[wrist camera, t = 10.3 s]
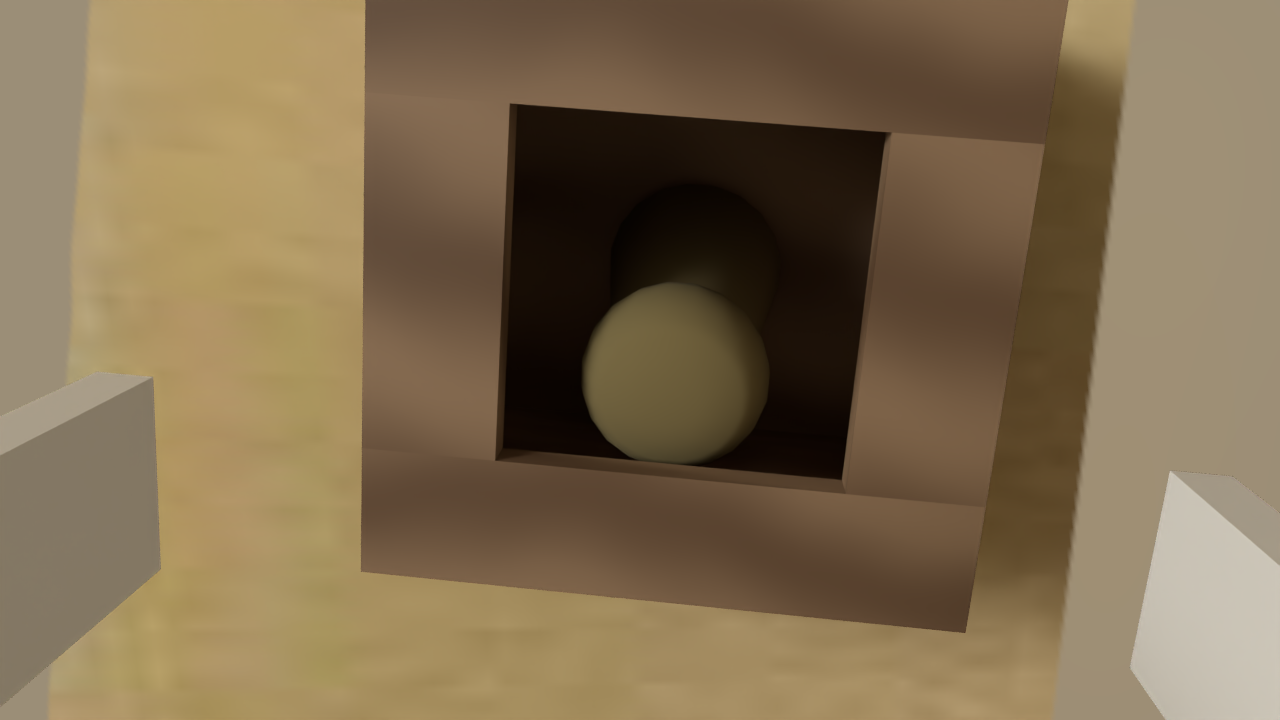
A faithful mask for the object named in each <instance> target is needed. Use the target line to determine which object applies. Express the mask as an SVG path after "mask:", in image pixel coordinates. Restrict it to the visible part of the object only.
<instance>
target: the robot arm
mask: <svg viewBox="0 0 1280 720" xmlns="http://www.w3.org/2000/svg"><path fill="white" fill-rule="evenodd" d="M160 569H161V565H160V539H159V514H158V489H157V463H156V438H155V413H154V387H153V377H148V376H137V375H126V374H115V373H105V372H95V373H93V374H91V375H89V376H87V377H84V378H82V379H80V380H78V381H76V382H74V383H71V384H69V385H67V386H65V387H63V388H60V389H58V390H56V391H54V392H52V393H50V394H47V395H45V396H43V397H41V398H39V399H37V400H34V401H32V402H30V403H28V404H26V405H24V406H21V407H19V408H17V409H15V410H13V411H11V412H8V413H6V414H4V415H2V416H0V707H1V706H2V705H3V704H4V703H6V702H7V701H8V700H9V699H10V698H12V697H13V696H14V695H15V694H16V693H17V692H18V691H20V690H21V689H22V688H23V687H24V686H25V685H27V684H28V683H29V682H30V681H31V680H32V679H34V678H35V677H36V676H37V675H38V674H39V673H41V672H42V671H43V670H44V669H45V668H46V667H48V666H49V665H50V664H51V663H52V662H53V661H55V660H56V659H57V658H58V657H59V656H60V655H61V654H63V653H64V652H65V651H66V650H67V649H68V648H70V647H71V646H72V645H73V644H74V643H75V642H77V641H78V640H79V639H80V638H81V637H82V636H84V635H85V634H86V633H87V632H88V631H89V630H91V629H92V628H93V627H94V626H95V625H96V624H98V623H99V622H100V621H101V620H102V619H103V618H104V617H106V616H107V615H108V614H109V613H110V612H111V611H113V610H114V609H115V608H116V607H117V606H118V605H120V604H121V603H122V602H123V601H124V600H125V599H127V598H128V597H129V596H130V595H131V594H132V593H134V592H135V591H136V590H137V589H138V588H139V587H141V586H142V585H143V584H144V583H145V582H146V581H147V580H149V579H150V578H151V577H152V576H153V575H154V574H156V573H157V572H158V571H159V570H160ZM1130 669H1131V670H1132V672H1133V673H1134V675H1135V676H1136V677H1137V679H1138V680H1139V682H1140V683H1141V685H1142V686H1143V688H1144V689H1145V690H1146V692H1147V693H1148V695H1149V696H1150V698H1151V699H1152V700H1153V702H1154V703H1155V705H1156V706H1157V708H1158V709H1159V711H1160V712H1161V714H1162V715H1163V716H1164V718H1165V719H1166V720H1280V512H1278V511H1277V510H1276V509H1274V508H1273V507H1272V506H1270V505H1269V504H1268V503H1267V502H1265V501H1264V500H1262V499H1261V498H1260V497H1259V496H1258V495H1256V494H1255V493H1254V492H1252V491H1251V490H1250V489H1248V488H1247V487H1246V486H1244V485H1243V484H1242V483H1241V482H1239V481H1238V480H1237V479H1236V478H1234V477H1233V476H1225V475H1214V474H1203V473H1193V472H1182V471H1181V472H1180V471H1171V470H1170V473H1169V478H1168V482H1167V488H1166V492H1165V497H1164V503H1163V507H1162V512H1161V517H1160V522H1159V527H1158V531H1157V536H1156V541H1155V546H1154V551H1153V556H1152V561H1151V566H1150V571H1149V576H1148V581H1147V586H1146V590H1145V595H1144V600H1143V605H1142V610H1141V615H1140V620H1139V625H1138V629H1137V635H1136V639H1135V644H1134V649H1133V654H1132V659H1131V664H1130Z"/></svg>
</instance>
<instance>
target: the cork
mask: <svg viewBox="0 0 1280 720" xmlns="http://www.w3.org/2000/svg"><path fill="white" fill-rule="evenodd" d="M780 264H781V259H780V255H779V251H778V247H777V243H776V238H775V235H774V233H773V232H772V230H771V229H770V227H769V225H768V224H767V222H766V221H765V219H764V218H763V216H762V214H761V213H760V212H759V211H758V210H756V209H755V208H754V207H753V206H751V205H750V204H749V203H748V202H747V201H745V200H744V199H743V198H742V197H741V196H739V195H736V194H734V193H731V192H729V191H726V190H724V189H721V188H719V187H716V186H712V185H697V184H683V185H679V186H675V187H671V188H667V189H663V190H659V191H658V192H656V193H655V194H653V195H651V196H650V197H648V198H647V199H645V200H643V201H642V202H640V203H639V204H637V205H636V206H635V207H634V209H633V210H632V211H631V212H630V214H629V215H628V216H627V217H626V218H625V220H624V221H623V222H622V223H621V224H620V227H619V229H618V232H617V235H616V237H615V240H614V243H613V245H612V248H611V273H610V309H609V310H608V311H607V313H606V314H605V315H604V316H603V317H602V318H601V320H600V321H599V322H598V323H597V324H596V325H595V327H594V330H593V332H592V334H591V337H590V340H589V342H588V345H587V347H586V350H585V353H584V355H583V358H582V381H581V386H582V391H583V395H584V398H585V402H586V405H587V408H588V411H589V414H590V417H591V419H592V421H593V422H594V423H595V425H596V426H597V427H598V429H599V430H600V432H601V433H602V434H603V436H604V437H605V438H606V440H607V441H609V442H610V443H611V444H613V445H614V446H615V447H617V448H618V449H619V450H621V451H622V452H623V453H625V454H626V455H627V456H629V457H631V458H634V459H636V460H639V461H644V462H655V463H666V464H676V465H687V466H699V465H704V464H709V463H711V462H713V461H715V460H717V459H719V458H721V457H722V456H724V455H726V454H728V453H730V452H732V451H733V450H734V449H735V448H736V447H737V446H738V445H739V444H740V443H741V442H742V441H743V440H744V439H745V438H746V437H747V436H748V435H749V434H750V433H751V432H752V430H753V429H754V427H755V426H756V423H757V421H758V419H759V417H760V415H761V413H762V411H763V409H764V407H765V405H766V402H767V397H768V387H769V377H770V369H769V362H768V358H767V354H766V350H765V346H764V342H763V339H762V337H761V336H760V335H761V332H762V329H763V326H764V324H765V321H766V318H767V316H768V313H769V310H770V307H771V305H772V302H773V299H774V297H775V294H776V291H777V289H778V285H779V275H780Z"/></svg>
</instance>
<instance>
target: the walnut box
mask: <svg viewBox="0 0 1280 720" xmlns="http://www.w3.org/2000/svg"><path fill="white" fill-rule="evenodd" d="M1067 6H1068V0H366V10H365V136H364V262H363V388H362V513H361V572H370V573H380V574H389V575H399V576H409V577H419V578H429V579H439V580H449V581H458V582H468V583H478V584H488V585H498V586H508V587H518V588H527V589H537V590H547V591H557V592H567V593H577V594H587V595H597V596H606V597H616V598H626V599H636V600H646V601H656V602H666V603H675V604H685V605H695V606H705V607H715V608H725V609H735V610H745V611H754V612H764V613H774V614H784V615H794V616H804V617H814V618H823V619H833V620H843V621H853V622H863V623H873V624H883V625H893V626H902V627H912V628H922V629H932V630H942V631H952V632H962V633H965V632H966V626H967V620H968V614H969V608H970V602H971V595H972V589H973V583H974V577H975V571H976V565H977V559H978V552H979V546H980V540H981V534H982V528H983V522H984V516H985V509H986V503H987V497H988V491H989V485H990V479H991V473H992V467H993V460H994V454H995V448H996V442H997V436H998V430H999V424H1000V417H1001V411H1002V405H1003V399H1004V393H1005V387H1006V381H1007V374H1008V368H1009V362H1010V356H1011V350H1012V344H1013V338H1014V331H1015V325H1016V319H1017V313H1018V307H1019V301H1020V295H1021V288H1022V282H1023V276H1024V270H1025V264H1026V258H1027V252H1028V246H1029V239H1030V233H1031V227H1032V221H1033V215H1034V209H1035V203H1036V196H1037V190H1038V184H1039V178H1040V172H1041V166H1042V160H1043V153H1044V147H1045V141H1046V135H1047V129H1048V123H1049V117H1050V110H1051V104H1052V98H1053V92H1054V86H1055V80H1056V74H1057V68H1058V61H1059V55H1060V49H1061V43H1062V37H1063V31H1064V25H1065V18H1066V12H1067ZM683 184H697V185H712V186H716V187H719V188H721V189H724V190H726V191H729V192H731V193H734V194H736V195H739V196H741V197H742V198H743V199H744V200H745V201H747V202H748V203H749V204H750V205H751V206H753V207H754V208H755V209H756V210H758V211H759V212H760V213H761V214H762V216H763V218H764V219H765V221H766V222H767V224H768V225H769V227H770V229H771V230H772V232H773V233H774V235H775V238H776V243H777V247H778V251H779V255H780V259H781V264H780V275H779V285H778V289H777V291H776V294H775V297H774V299H773V302H772V305H771V307H770V310H769V313H768V316H767V318H766V321H765V324H764V326H763V329H762V332H761V335H760V336H761V337H762V339H763V342H764V346H765V350H766V354H767V358H768V362H769V369H770V377H769V387H768V397H767V402H766V405H765V407H764V409H763V411H762V413H761V415H760V417H759V419H758V421H757V423H756V426H755V427H754V429H753V430H752V432H751V433H750V434H749V435H748V436H747V437H746V438H745V439H744V440H743V441H742V442H741V443H740V444H739V445H738V446H737V447H736V448H735V449H734V450H733V451H732V452H730V453H728V454H726V455H724V456H722V457H721V458H719V459H717V460H715V461H713V462H711V463H709V464H704V465H699V466H687V465H676V464H666V463H655V462H644V461H639V460H636V459H634V458H631V457H629V456H627V455H626V454H625V453H623V452H622V451H621V450H619V449H618V448H617V447H615V446H614V445H613V444H611V443H610V442H609V441H607V440H606V438H605V437H604V436H603V434H602V433H601V432H600V430H599V429H598V427H597V426H596V425H595V423H594V422H593V421H592V419H591V417H590V414H589V411H588V408H587V405H586V402H585V398H584V395H583V391H582V386H581V381H582V358H583V355H584V353H585V350H586V347H587V345H588V342H589V340H590V337H591V334H592V332H593V330H594V327H595V325H596V324H597V323H598V322H599V321H600V320H601V318H602V317H603V316H604V315H605V314H606V313H607V311H608V310H609V309H610V273H611V248H612V245H613V243H614V240H615V237H616V235H617V232H618V229H619V227H620V224H621V223H622V222H623V221H624V220H625V218H626V217H627V216H628V215H629V214H630V212H631V211H632V210H633V209H634V207H635V206H636V205H637V204H639V203H640V202H642V201H643V200H645V199H647V198H648V197H650V196H651V195H653V194H655V193H656V192H658V191H659V190H663V189H667V188H671V187H675V186H679V185H683Z"/></svg>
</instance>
